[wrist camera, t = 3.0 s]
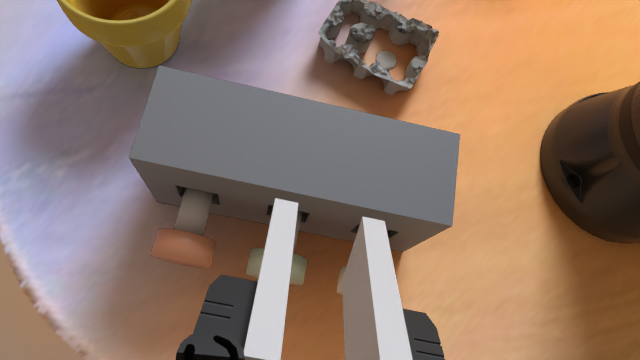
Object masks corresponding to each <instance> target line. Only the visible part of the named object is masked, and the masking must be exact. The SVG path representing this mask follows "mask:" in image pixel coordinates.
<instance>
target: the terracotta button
mask: <svg viewBox="0 0 640 360" xmlns="http://www.w3.org/2000/svg"><path fill="white" fill-rule="evenodd" d="M213 196H214V193H210V192H205V191H200V190H196V189H191V188H185V191H184V195H183V198H182V202H181V206H180V209H179V213H178V216H177V220H176V223H175V227H174V229H158V230H157V234H156V237H155V241H154V244H153V248H152V251H151V255H152V256H154V257H156V258H159V259H162V260H166V261H169V262H173V263H178V264H183V265H188V266H194V267H202V268H210V267H211V264H212V260H213V256H214V252H215V248H216V244H217V243H216V242H215V241H214V240H212V239H210V238H207V237H204V236H203V235H204V231H205V227H206V223H207V219H208V216H209V212H210V208H211V204H212V200H213Z"/></svg>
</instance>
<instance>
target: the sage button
mask: <svg viewBox="0 0 640 360" xmlns="http://www.w3.org/2000/svg"><path fill="white" fill-rule="evenodd" d="M301 216H302V212H301V211H297V220H296V229H295V237H294V246H293V255H292V264H291V273H290V281H289V285H303V284H304V278H305V273H306V267H307V262H308V260H307V259H306V258H304V257H302V256H299V255H297V254H294V253H295V247H296V242H297V237H298V232H299V227H300V221H301ZM263 252H264V248H252V249H251V251H250V255H249V260H248V264H247V269H246V275H248V276H251V277H254V278H257V279H258V276H259V271H260V266H261V262H262V257H263Z"/></svg>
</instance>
